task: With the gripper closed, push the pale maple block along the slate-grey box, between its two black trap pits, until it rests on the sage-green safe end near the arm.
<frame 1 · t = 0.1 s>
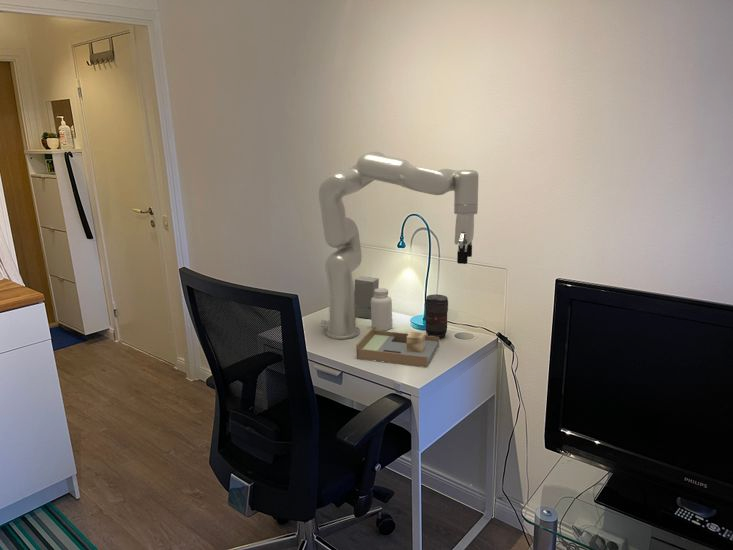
hand: (464, 259, 187), 31 cm above the table, tool pointing down, fingers open, 9 cm apart
pill bottle: (381, 327, 216), on the table
block: (415, 348, 190), point 2 cm above the table, touching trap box
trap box: (398, 352, 192), on the table
skincare box: (366, 316, 229), on the table
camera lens: (436, 336, 206), on the table
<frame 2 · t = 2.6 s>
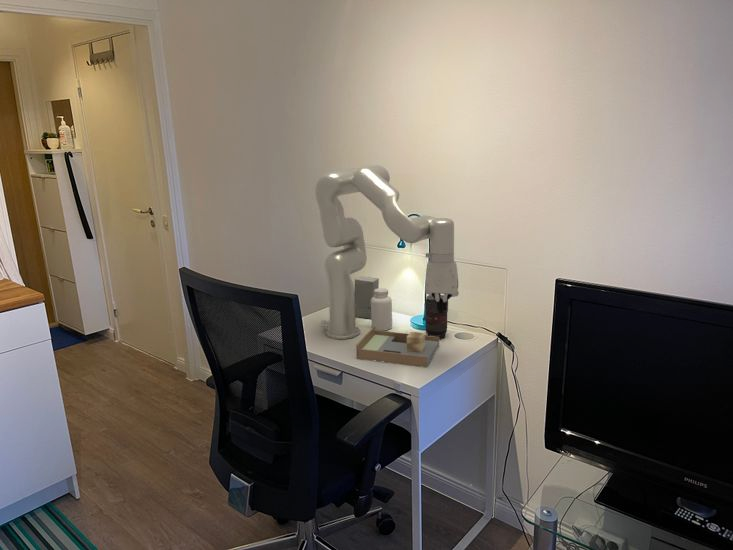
hand: (442, 312, 183), 16 cm above the table, tool pointing down, fingers closed
nothing on the table moved.
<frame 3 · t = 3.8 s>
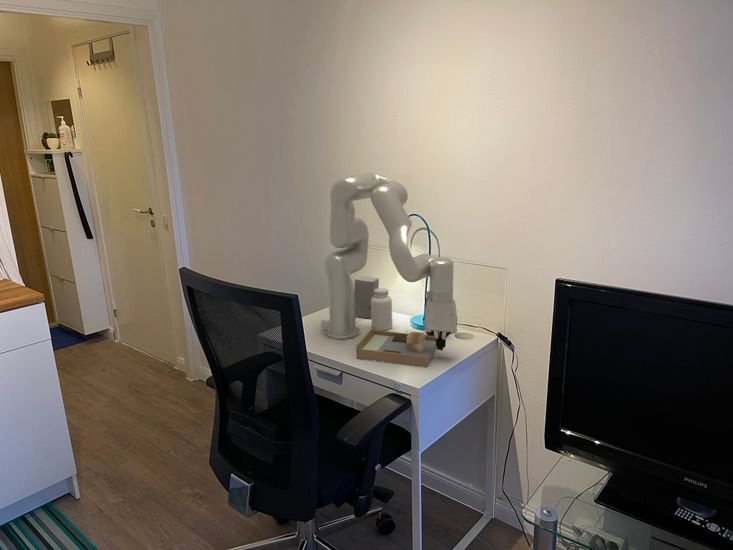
hand: (440, 348, 187), 3 cm above the table, tool pointing down, fingers closed
nothing on the table moved.
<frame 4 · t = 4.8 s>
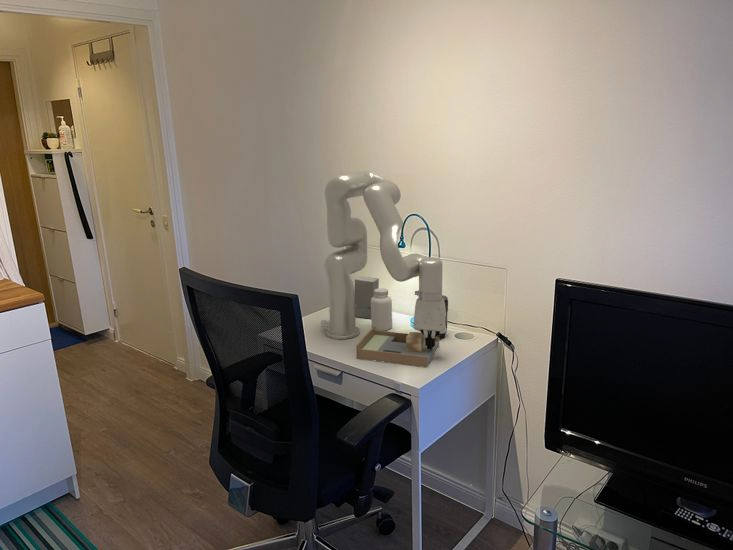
hand: (430, 347, 188), 3 cm above the table, tool pointing down, fingers closed
block: (415, 348, 190), point 2 cm above the table, touching gripper
everything else where it was.
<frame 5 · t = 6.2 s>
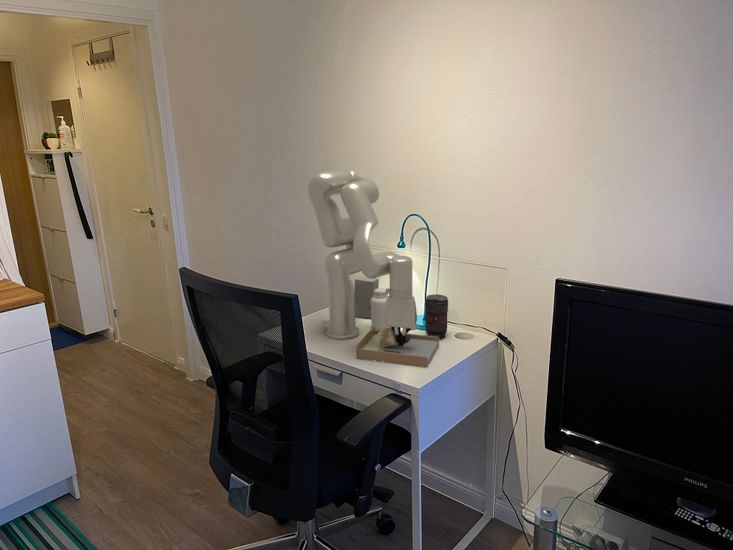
hand: (401, 344, 191), 3 cm above the table, tool pointing down, fingers closed
block: (390, 343, 193), point 3 cm above the table, tilted 19°, touching gripper, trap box
everything else where it was.
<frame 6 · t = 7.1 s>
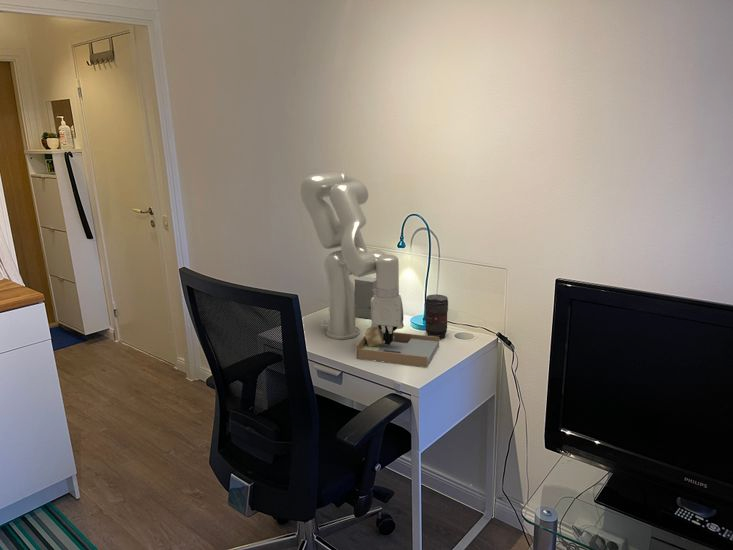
hand: (388, 342, 193), 3 cm above the table, tool pointing down, fingers closed
block: (377, 342, 194), point 3 cm above the table, tilted 20°, touching gripper
everything else where it was.
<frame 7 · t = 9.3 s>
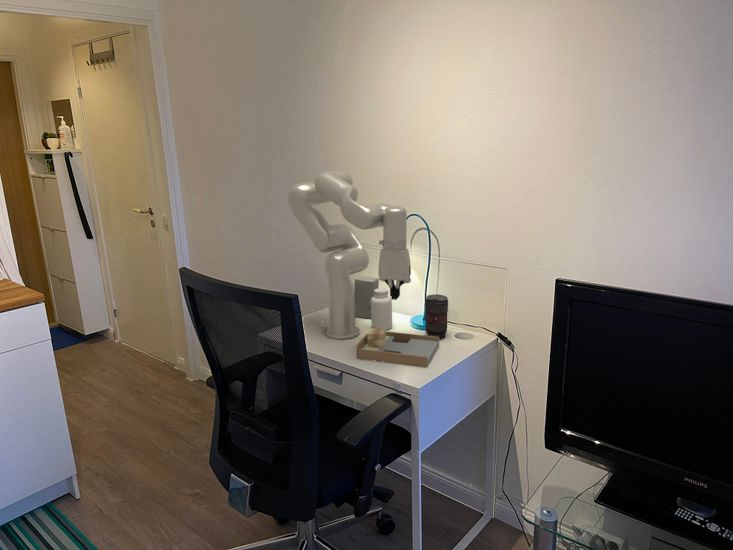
hand: (394, 298, 188), 19 cm above the table, tool pointing down, fingers closed
block: (376, 344, 194), point 2 cm above the table, touching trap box
everything else where it was.
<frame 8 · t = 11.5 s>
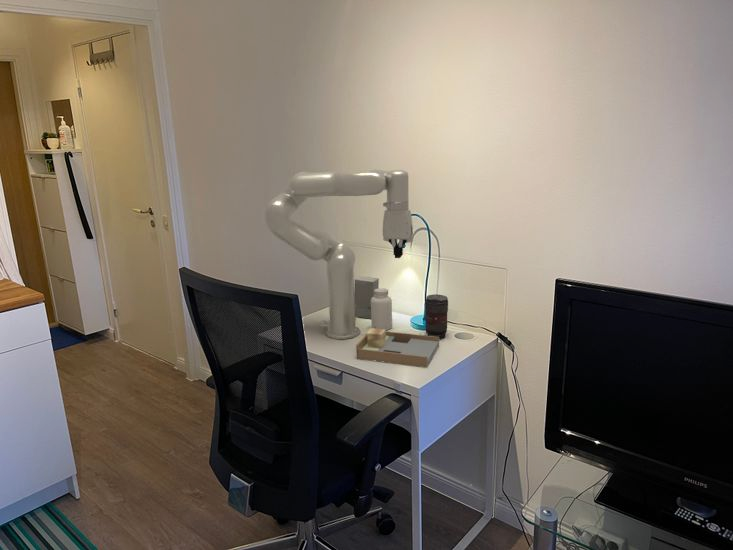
hand: (398, 257, 202), 29 cm above the table, tool pointing down, fingers closed
nothing on the table moved.
at the end: block 0.5 cm from the target spot on the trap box, point 2.0 cm above the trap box's base; block tilted 0°; block moved 13.8 cm from its start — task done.
